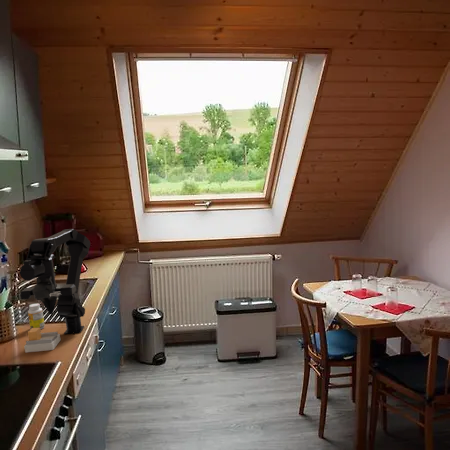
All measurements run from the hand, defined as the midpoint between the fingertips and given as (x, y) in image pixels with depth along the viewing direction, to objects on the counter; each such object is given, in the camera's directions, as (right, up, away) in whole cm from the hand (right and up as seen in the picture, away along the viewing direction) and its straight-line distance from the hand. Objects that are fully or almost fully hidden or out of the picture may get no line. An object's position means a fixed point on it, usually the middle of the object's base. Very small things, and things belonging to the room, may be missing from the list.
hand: (51, 313), depth 163 cm
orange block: (-6, -10, +1) cm, 12 cm away
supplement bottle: (-14, -10, +21) cm, 27 cm away
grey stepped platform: (-4, -12, +1) cm, 13 cm away
